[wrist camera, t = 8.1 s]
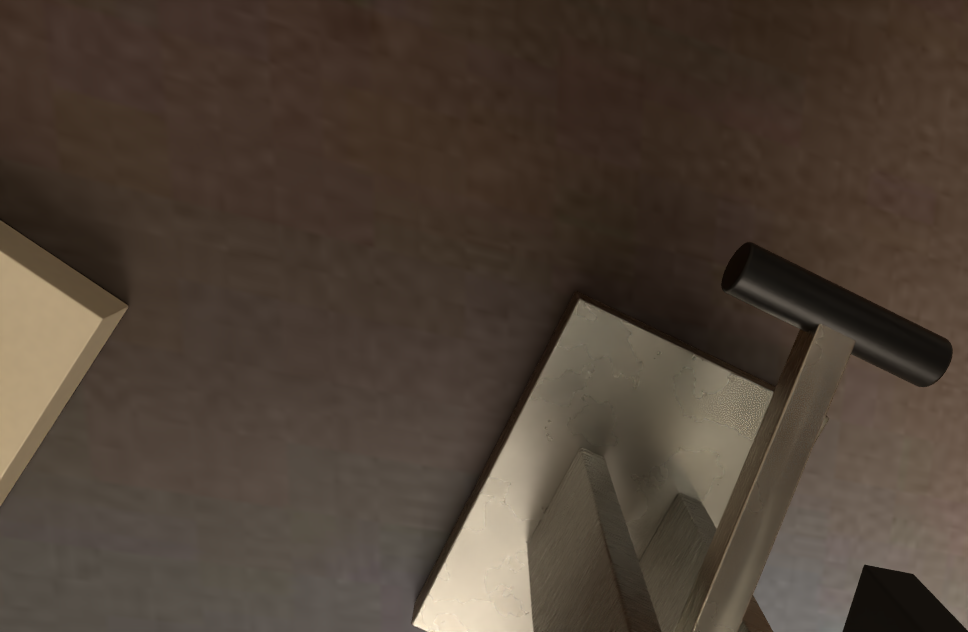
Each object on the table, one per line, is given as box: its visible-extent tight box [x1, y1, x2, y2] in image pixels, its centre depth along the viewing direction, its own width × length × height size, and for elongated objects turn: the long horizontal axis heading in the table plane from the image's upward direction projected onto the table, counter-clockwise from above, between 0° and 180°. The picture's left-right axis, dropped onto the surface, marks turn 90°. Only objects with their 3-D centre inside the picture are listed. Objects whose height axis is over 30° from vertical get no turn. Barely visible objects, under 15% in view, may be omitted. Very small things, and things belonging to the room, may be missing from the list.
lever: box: [674, 242, 953, 632], centre depth 22 cm, size 13×6×2 cm, turn 154°
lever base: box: [411, 291, 829, 632], centre depth 26 cm, size 14×10×14 cm
